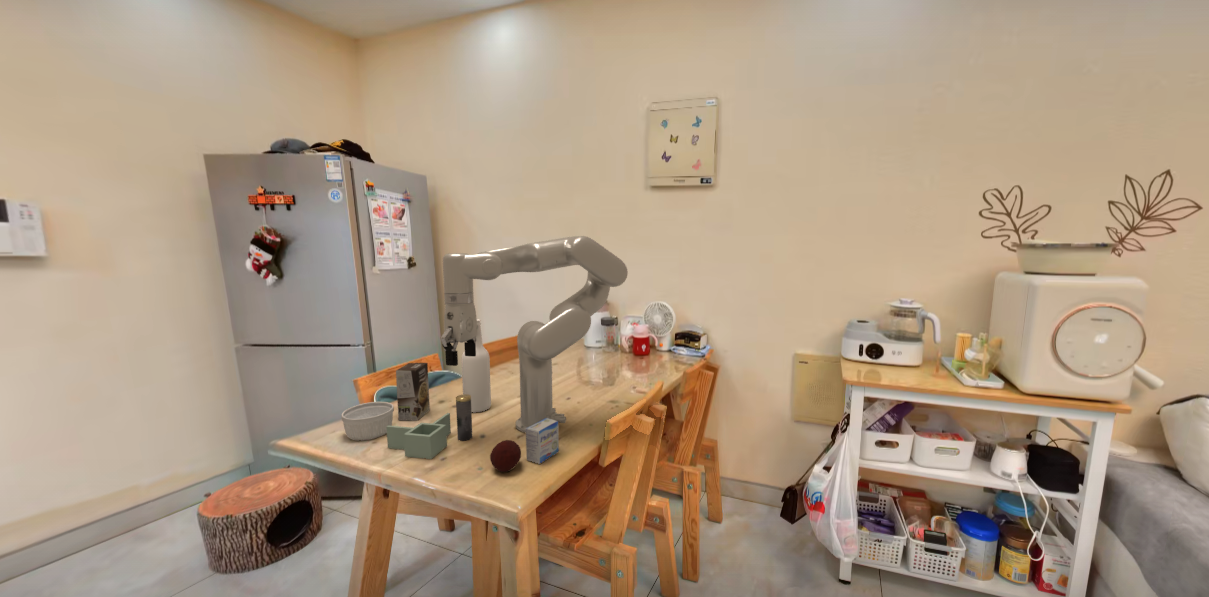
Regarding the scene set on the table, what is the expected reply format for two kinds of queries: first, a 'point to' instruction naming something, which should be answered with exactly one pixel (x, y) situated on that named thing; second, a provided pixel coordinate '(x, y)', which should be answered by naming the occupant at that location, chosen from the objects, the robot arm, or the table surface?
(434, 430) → the grey-green frame piece
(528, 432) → the medicine box
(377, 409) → the ramekin
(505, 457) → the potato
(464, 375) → the alcohol
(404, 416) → the coffee box
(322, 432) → the table surface
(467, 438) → the cylindrical canister
